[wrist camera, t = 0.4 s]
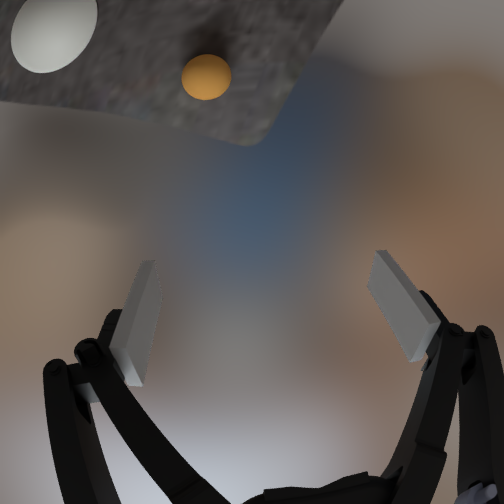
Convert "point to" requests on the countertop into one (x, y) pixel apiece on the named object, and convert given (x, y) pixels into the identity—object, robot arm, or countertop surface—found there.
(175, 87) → the countertop surface
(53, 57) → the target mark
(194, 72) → the ball
